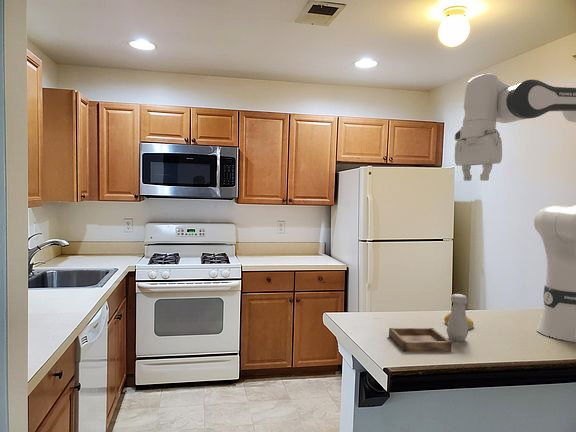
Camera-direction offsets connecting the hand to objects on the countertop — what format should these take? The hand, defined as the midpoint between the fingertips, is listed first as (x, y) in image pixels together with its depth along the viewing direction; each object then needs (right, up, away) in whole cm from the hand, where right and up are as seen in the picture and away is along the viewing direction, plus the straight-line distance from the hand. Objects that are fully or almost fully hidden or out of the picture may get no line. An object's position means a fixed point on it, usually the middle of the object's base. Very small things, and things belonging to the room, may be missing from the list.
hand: (475, 180), depth 131 cm
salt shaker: (-6, -46, -1) cm, 46 cm away
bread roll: (0, -45, +13) cm, 47 cm away
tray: (-18, -46, -5) cm, 49 cm away
